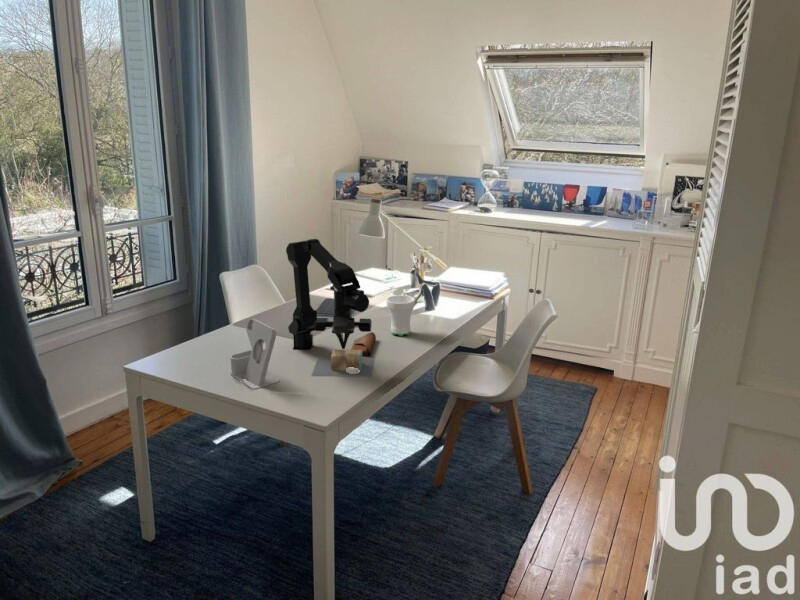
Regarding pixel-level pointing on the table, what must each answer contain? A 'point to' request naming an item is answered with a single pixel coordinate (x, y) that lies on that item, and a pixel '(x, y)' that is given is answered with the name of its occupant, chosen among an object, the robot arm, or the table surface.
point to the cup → (400, 313)
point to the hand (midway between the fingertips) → (343, 348)
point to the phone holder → (255, 356)
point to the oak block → (346, 359)
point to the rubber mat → (324, 369)
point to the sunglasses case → (365, 344)
